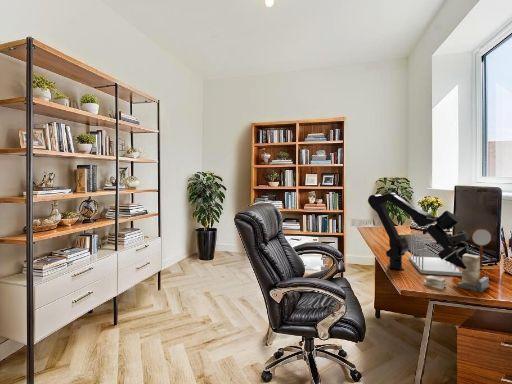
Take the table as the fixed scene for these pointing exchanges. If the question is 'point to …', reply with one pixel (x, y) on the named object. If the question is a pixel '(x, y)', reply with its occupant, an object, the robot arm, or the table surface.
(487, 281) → the rack
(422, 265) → the file sorter
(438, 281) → the offcut stack
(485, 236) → the magnifying glass
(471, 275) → the cream upright block
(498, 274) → the table surface
